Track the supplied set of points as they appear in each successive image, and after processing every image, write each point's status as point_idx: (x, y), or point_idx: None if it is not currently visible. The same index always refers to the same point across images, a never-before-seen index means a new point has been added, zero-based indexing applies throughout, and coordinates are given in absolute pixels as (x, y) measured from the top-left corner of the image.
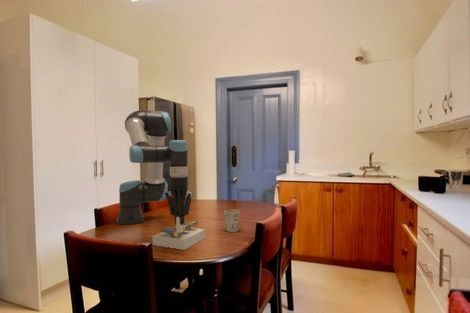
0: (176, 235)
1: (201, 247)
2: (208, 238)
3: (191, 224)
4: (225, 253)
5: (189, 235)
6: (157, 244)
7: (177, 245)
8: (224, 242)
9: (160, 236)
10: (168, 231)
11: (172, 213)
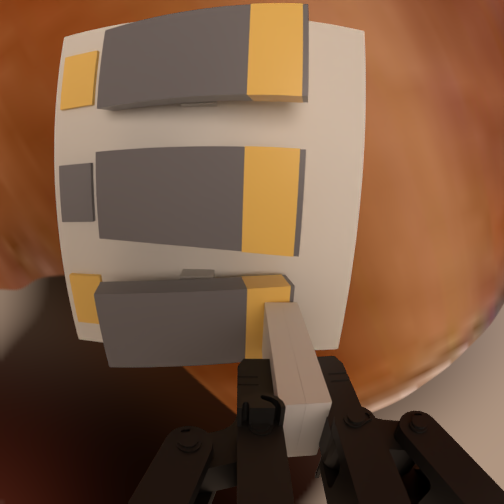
0: None
1: (398, 245)
2: (365, 59)
3: (287, 98)
4: (499, 279)
5: (328, 243)
6: None
7: None
8: (473, 124)
9: None
10: (188, 361)
11: (209, 488)
